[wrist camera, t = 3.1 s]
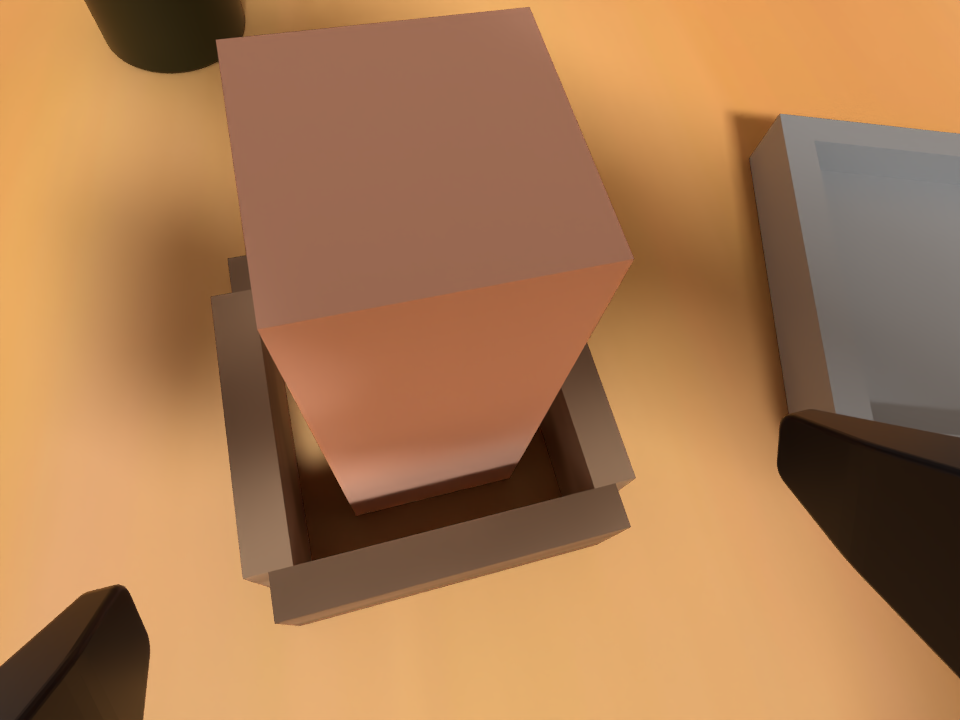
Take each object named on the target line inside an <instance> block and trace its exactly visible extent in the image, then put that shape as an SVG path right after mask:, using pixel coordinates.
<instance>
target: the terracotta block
mask: <svg viewBox="0 0 960 720" xmlns="http://www.w3.org/2000/svg"><path fill="white" fill-rule="evenodd" d="M216 45H217V52H218V59H219V66H220V73H221V80H222V87H223V94H224V101H225V108H226V115H227V122H228V129H229V136H230V143H231V150H232V157H233V164H234V171H235V178H236V185H237V192H238V199H239V206H240V213H241V220H242V227H243V234H244V241H245V248H246V255H247V262H248V269H249V276H250V283H251V290H252V297H253V304H254V311H255V318H256V325H257V330H258V332H259V334H260V336H261V338H262V340H263V342H264V343H265V345H266V347H267V349H268V351H269V353H270V355H271V357H272V359H273V360H274V362H275V364H276V366H277V368H278V370H279V372H280V374H281V375H282V377H283V379H284V381H285V383H286V385H287V387H288V389H289V391H290V392H291V394H292V396H293V398H294V400H295V402H296V404H297V406H298V407H299V409H300V411H301V413H302V415H303V417H304V419H305V421H306V423H307V424H308V426H309V428H310V430H311V432H312V434H313V436H314V438H315V440H316V441H317V443H318V445H319V447H320V449H321V451H322V453H323V455H324V456H325V458H326V460H327V462H328V464H329V466H330V468H331V470H332V472H333V473H334V475H335V477H336V479H337V481H338V483H339V485H340V487H341V488H342V490H343V492H344V494H345V496H346V498H347V500H348V502H349V504H350V505H351V507H352V509H353V511H354V513H355V515H356V516H357V515H361V514H366V513H370V512H374V511H378V510H382V509H386V508H390V507H394V506H398V505H402V504H406V503H410V502H414V501H418V500H422V499H426V498H430V497H435V496H439V495H443V494H447V493H451V492H455V491H459V490H463V489H467V488H471V487H475V486H479V485H483V484H487V483H491V482H495V481H499V480H503V479H508V478H510V476H511V474H512V473H513V471H514V469H515V467H516V466H517V464H518V462H519V460H520V459H521V457H522V455H523V453H524V452H525V450H526V448H527V446H528V445H529V443H530V441H531V439H532V438H533V436H534V434H535V432H536V431H537V429H538V427H539V425H540V424H541V422H542V420H543V418H544V417H545V415H546V413H547V411H548V410H549V408H550V406H551V404H552V403H553V401H554V399H555V397H556V395H557V394H558V392H559V390H560V388H561V387H562V385H563V383H564V381H565V380H566V378H567V376H568V374H569V373H570V371H571V369H572V367H573V366H574V364H575V362H576V360H577V359H578V357H579V355H580V353H581V352H582V350H583V348H584V346H585V345H586V343H587V341H588V339H589V338H590V336H591V334H592V332H593V331H594V329H595V327H596V325H597V324H598V322H599V320H600V318H601V316H602V315H603V313H604V311H605V309H606V308H607V306H608V304H609V302H610V301H611V299H612V297H613V295H614V294H615V292H616V290H617V288H618V287H619V285H620V283H621V281H622V280H623V278H624V276H625V274H626V273H627V271H628V269H629V267H630V266H631V264H632V262H633V260H634V257H633V255H632V252H631V250H630V248H629V245H628V243H627V240H626V238H625V235H624V233H623V231H622V228H621V226H620V223H619V221H618V219H617V216H616V214H615V211H614V209H613V207H612V204H611V202H610V199H609V197H608V195H607V192H606V190H605V187H604V185H603V183H602V180H601V178H600V175H599V173H598V171H597V168H596V166H595V163H594V161H593V158H592V156H591V154H590V151H589V149H588V146H587V144H586V142H585V139H584V137H583V134H582V132H581V130H580V127H579V125H578V122H577V120H576V118H575V115H574V113H573V110H572V108H571V106H570V103H569V101H568V98H567V96H566V94H565V91H564V89H563V86H562V84H561V81H560V79H559V77H558V74H557V72H556V69H555V67H554V65H553V62H552V60H551V57H550V55H549V53H548V50H547V48H546V45H545V43H544V41H543V38H542V36H541V33H540V31H539V29H538V26H537V24H536V21H535V19H534V17H533V14H532V12H531V9H530V7H525V8H516V9H506V10H496V11H487V12H477V13H468V14H458V15H449V16H439V17H429V18H420V19H410V20H401V21H391V22H382V23H372V24H362V25H353V26H343V27H334V28H324V29H315V30H305V31H295V32H286V33H276V34H267V35H257V36H247V37H238V38H228V39H219V40H216Z"/></svg>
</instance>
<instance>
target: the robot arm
mask: <svg viewBox="0 0 960 720" xmlns="http://www.w3.org/2000/svg"><path fill="white" fill-rule="evenodd" d="M777 467H778V471H779V474H780V476H781V478H782V480H783V481H784V483H785V484H786V485H787V486H788V488H789V489H790V490H791V491H792V493H793V494H794V495H795V496H796V498H797V499H798V500H799V501H800V503H801V504H802V505H803V506H804V508H805V509H806V510H807V511H808V513H809V514H810V515H811V516H812V518H813V519H814V520H815V521H816V523H817V524H818V525H819V527H820V528H821V529H822V530H823V532H824V533H825V534H826V535H827V537H828V538H829V539H830V540H831V542H832V543H833V544H834V545H835V547H836V548H837V549H838V550H839V551H840V553H841V554H842V555H843V556H844V557H845V559H846V560H847V561H848V562H849V563H850V564H851V565H852V567H853V568H854V569H855V570H856V571H857V572H858V573H859V574H860V575H861V576H862V577H863V578H864V579H865V581H866V582H867V583H868V584H869V585H870V586H871V587H872V588H873V589H874V590H875V591H876V592H877V593H878V594H879V595H880V596H881V597H882V598H883V599H884V600H885V601H886V602H887V603H888V604H889V605H890V607H891V608H892V609H893V610H894V611H895V612H896V613H897V614H898V615H899V616H900V617H901V618H902V619H903V620H904V621H905V622H906V623H907V624H908V625H909V626H910V627H911V628H912V629H913V630H914V632H915V633H916V634H917V635H918V636H919V637H920V638H921V639H922V640H923V641H924V642H925V643H926V644H927V645H928V646H929V647H930V648H931V649H932V650H933V651H934V652H935V653H936V654H937V655H938V657H939V658H940V659H941V660H942V661H943V662H944V663H945V664H946V665H947V666H948V667H949V668H950V669H951V670H952V671H953V672H954V673H955V674H956V675H957V676H958V677H959V678H960V437H956V436H951V435H945V434H940V433H935V432H930V431H925V430H919V429H914V428H909V427H904V426H899V425H893V424H888V423H883V422H878V421H873V420H867V419H862V418H857V417H852V416H847V415H841V414H836V413H831V412H826V411H821V410H815V409H806V410H802V411H798V412H794V413H791V414H787V415H786V416H784V417H783V418H782V420H781V422H780V428H779V441H778V454H777ZM149 659H150V643H149V638H148V634H147V632H146V629H145V627H144V625H143V622H142V620H141V618H140V616H139V613H138V611H137V609H136V606H135V604H134V602H133V600H132V597H131V595H130V593H129V591H128V590H127V589H126V588H125V587H124V586H122V585H119V584H117V585H113V586H109V587H105V588H101V589H97V590H93V591H89V592H86V593H84V594H82V595H81V596H80V597H79V598H78V599H76V600H75V601H74V602H73V603H72V604H71V605H70V606H69V607H67V608H66V609H65V610H64V611H63V612H62V613H61V614H59V615H58V616H57V617H56V618H55V619H54V620H53V621H51V622H50V623H49V624H48V625H47V626H46V627H45V628H44V629H42V630H41V631H40V632H39V633H38V634H37V635H36V636H34V637H33V638H32V639H31V640H30V641H29V642H28V643H26V644H25V645H24V646H23V647H22V648H21V649H20V650H19V651H17V652H16V653H15V654H14V655H13V656H12V657H11V658H9V659H8V660H7V661H6V662H5V663H4V664H3V665H1V666H0V720H143V716H144V707H145V697H146V688H147V678H148V669H149Z"/></svg>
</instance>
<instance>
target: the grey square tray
mask: <svg viewBox="0 0 960 720" xmlns="http://www.w3.org/2000/svg"><path fill="white" fill-rule="evenodd" d="M749 159H750V166H751V172H752V179H753V185H754V192H755V198H756V205H757V211H758V218H759V224H760V230H761V237H762V243H763V250H764V256H765V263H766V269H767V276H768V282H769V289H770V295H771V302H772V308H773V315H774V321H775V328H776V334H777V340H778V347H779V353H780V360H781V366H782V373H783V379H784V386H785V392H786V399H787V405H788V412H789V414H791V413H794V412H798V411H802V410H806V409H815V410H821V411H826V412H831V413H836V414H841V415H847V416H852V417H857V418H862V419H867V420H873V421H878V422H883V423H888V424H893V425H899V426H904V427H909V428H914V429H919V430H925V431H930V432H935V433H940V434H945V435H951V436H956V437H960V134H956V133H947V132H939V131H930V130H921V129H912V128H903V127H894V126H885V125H876V124H867V123H858V122H849V121H840V120H831V119H822V118H813V117H804V116H795V115H786V114H779V116H778V117H777V119H776V120H775V122H774V123H773V124H772V126H771V127H770V129H769V130H768V132H767V133H766V135H765V136H764V138H763V139H762V140H761V142H760V143H759V145H758V146H757V148H756V149H755V151H754V152H753V153H752V155H751V156H750V158H749Z"/></svg>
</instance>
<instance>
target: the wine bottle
mask: <svg viewBox="0 0 960 720" xmlns="http://www.w3.org/2000/svg"><path fill="white" fill-rule="evenodd" d="M84 1H85V2H86V4H87V6H88V8H89V10H90V12H91V14H92V16H93V18H94V19H95V21H96V23H97V25H98V27H99V29H100V31H101V33H102V35H103V37H104V38H105V40H106V42H107V44H108V46H109V47H110V49H111V50H112V51H113V52H114V53H115V54H116V55H117V56H118V57H119V58H120V59H122V60H123V61H125V62H126V63H128V64H130V65H132V66H135V67H137V68H140V69H143V70H147V71H151V72H158V73H182V72H188V71H193V70H197V69H200V68H203V67H206V66H208V65H211V64H213V63H215V62H217V61H218V60H219V59H218V52H217V45H216V40H219V39H228V38H238V37H242V34H243V31H244V26H245V17H244V12H243V9H242V5H241V2H240V0H84Z"/></svg>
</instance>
